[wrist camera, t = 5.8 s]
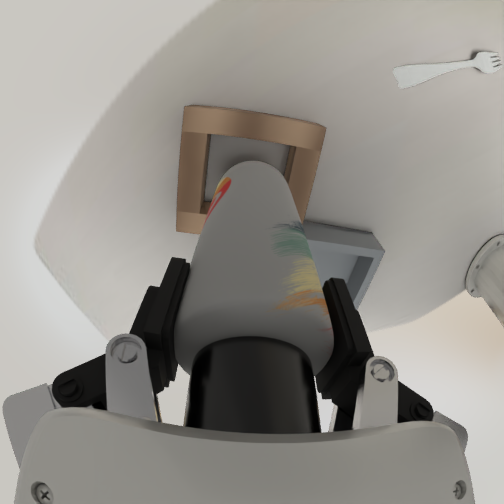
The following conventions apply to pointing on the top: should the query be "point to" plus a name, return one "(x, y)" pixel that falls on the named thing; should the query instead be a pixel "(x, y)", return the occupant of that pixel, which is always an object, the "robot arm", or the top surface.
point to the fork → (443, 69)
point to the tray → (344, 256)
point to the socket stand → (246, 126)
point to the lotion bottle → (253, 312)
